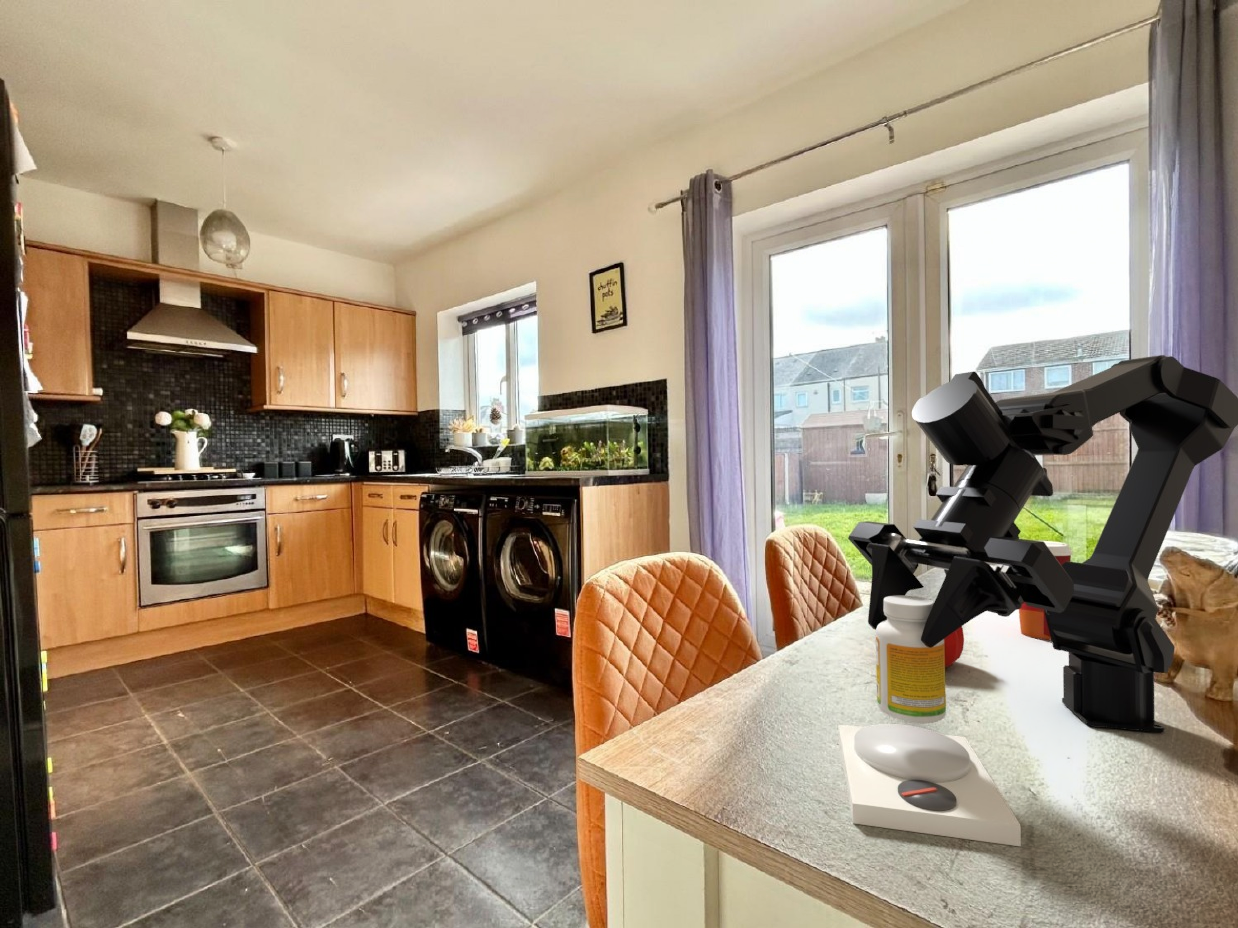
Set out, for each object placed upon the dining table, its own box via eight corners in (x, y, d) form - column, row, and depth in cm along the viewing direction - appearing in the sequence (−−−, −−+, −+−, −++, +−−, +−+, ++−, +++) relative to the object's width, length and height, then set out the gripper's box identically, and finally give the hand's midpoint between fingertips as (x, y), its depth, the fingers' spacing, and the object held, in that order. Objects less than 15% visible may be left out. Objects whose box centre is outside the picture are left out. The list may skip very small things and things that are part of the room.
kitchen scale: (965, 752, 56) (964, 728, 56) (1020, 846, 43) (1020, 813, 43) (838, 739, 59) (838, 716, 59) (852, 823, 45) (852, 792, 45)
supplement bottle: (961, 720, 51) (959, 604, 51) (905, 728, 49) (903, 609, 49) (915, 696, 56) (913, 591, 56) (864, 703, 55) (862, 595, 55)
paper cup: (1071, 632, 94) (1071, 541, 94) (1076, 645, 87) (1075, 547, 87) (1011, 625, 98) (1010, 538, 98) (1011, 637, 91) (1010, 544, 91)
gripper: (1141, 572, 50) (1055, 733, 46) (943, 544, 67) (868, 659, 63) (1078, 480, 47) (979, 643, 43) (887, 475, 64) (804, 591, 60)
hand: (897, 635), depth 52 cm, fingers closed on supplement bottle, 5 cm apart
